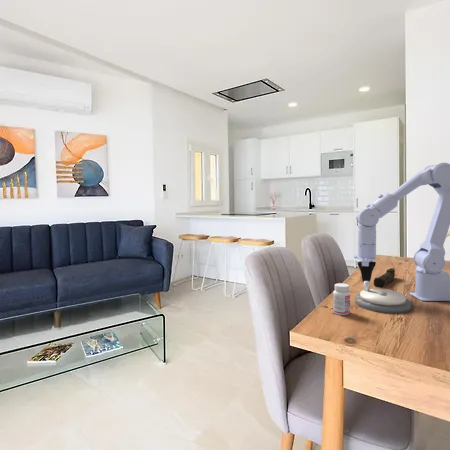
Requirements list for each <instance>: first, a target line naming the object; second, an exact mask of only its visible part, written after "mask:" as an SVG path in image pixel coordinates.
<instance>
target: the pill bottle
mask: <svg viewBox="0 0 450 450" xmlns="http://www.w3.org/2000/svg"><path fill="white" fill-rule="evenodd" d="M332 294H333V295H332V301H333V302H332V303H333V304H332V306H333V307H332V313H334V314H336V315H340V316H348V315H349V314H351V292H350V285H349V284H347V283H342V282H341V283H340V282H338V283H335V284H334V290H333V293H332Z"/></svg>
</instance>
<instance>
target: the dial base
mask: <svg viewBox="0 0 450 450" xmlns="http://www.w3.org/2000/svg"><path fill="white" fill-rule="evenodd" d="M354 303H355V305H357V306H358V307H360V308H362V309H364V310H367V311H372V312H375V313H382V314H401V313H402V314H403V313H407V312H409V311H411V310H412V301H411V300H410V299H409V298H406V302H405V303H404V304H402V305H394V306H388V305H378V304H373V303H369V302H366V301H364V300H362V299H361V298H360V293H359V294H357V295H355V297H354Z"/></svg>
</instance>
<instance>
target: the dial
mask: <svg viewBox="0 0 450 450" xmlns="http://www.w3.org/2000/svg"><path fill="white" fill-rule="evenodd" d="M370 283H371V281H370V282H369V281H364V283H363V289H362V290H361V291H360V293H359V294H360V298H361V299H362V300H364V301H366V302H369V303H373V304H378V305H388V306H394V305H402V304H404V303H405V302H406V299H407V296H406V295H405V293H402V292H399V291H397V290H396V291H395V290H391V289H385V288H370V287H371V286H370V285H371V284H370Z"/></svg>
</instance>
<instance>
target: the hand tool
mask: <svg viewBox="0 0 450 450" xmlns="http://www.w3.org/2000/svg"><path fill="white" fill-rule="evenodd" d="M395 272H396V269H395V268H393V267H391V268H388V269H386V271H385V272H384V274H382V275H380V276H378V277H375V278H374V279H373V286H374V287H375V288H378V289H384V288H385V286H386V285H387V284H389V283H390V282H393V281H394V280H395V276H396V273H395Z"/></svg>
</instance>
